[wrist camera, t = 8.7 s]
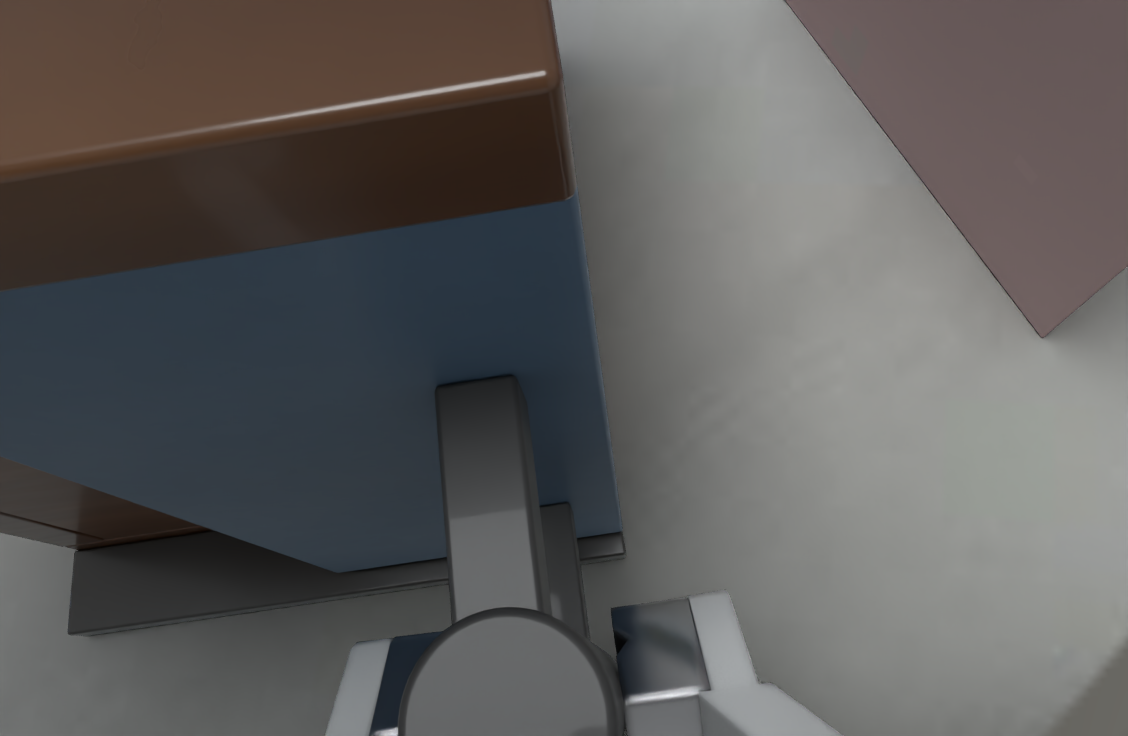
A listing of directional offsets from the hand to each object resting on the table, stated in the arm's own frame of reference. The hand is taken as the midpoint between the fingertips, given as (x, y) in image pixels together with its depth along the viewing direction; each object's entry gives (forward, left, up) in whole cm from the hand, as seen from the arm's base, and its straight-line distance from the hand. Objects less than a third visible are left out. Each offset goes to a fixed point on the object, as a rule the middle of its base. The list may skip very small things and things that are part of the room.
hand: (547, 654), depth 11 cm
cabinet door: (-2, +1, -6) cm, 6 cm away
